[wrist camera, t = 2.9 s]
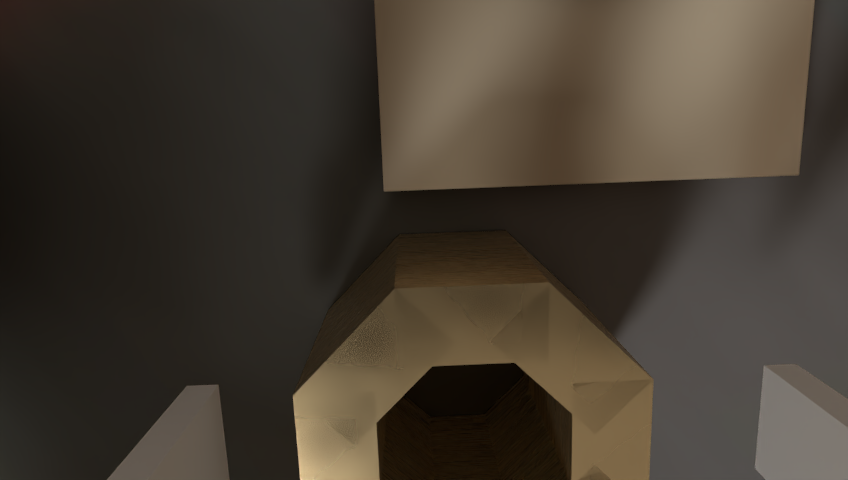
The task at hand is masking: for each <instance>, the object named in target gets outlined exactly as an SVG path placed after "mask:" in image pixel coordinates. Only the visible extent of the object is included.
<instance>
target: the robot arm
mask: <svg viewBox="0 0 848 480" xmlns="http://www.w3.org/2000/svg"><path fill="white" fill-rule="evenodd" d="M755 469H756V470H757V471H758V472H759V473H760V474H761V475H762V476H763V477H764V479H765V480H848V399H847V398H845V397H844V396H842V395H841V394H839V393H838V392H836V391H835V390H833V389H832V388H830V387H829V386H828V385H826V384H825V383H823V382H822V381H820V380H819V379H817V378H816V377H814V376H813V375H811V374H810V373H808V372H807V371H805V370H804V369H802V368H801V367H800V366H798V365H797V364H784V365H764V371H763V382H762V394H761V405H760V416H759V427H758V438H757V450H756V461H755ZM107 480H230V478H229V470H228V461H227V453H226V444H225V436H224V427H223V419H222V410H221V402H220V393H219V385H194V386H186V387H185V388H184V390H183V391H182V392H181V393H180V394H179V396H178V397H177V398H176V399H175V400H174V401H173V403H172V404H171V405H170V406H169V407H168V408H167V410H166V411H165V412H164V413H163V414H162V415H161V417H160V418H159V419H158V420H157V421H156V423H155V424H154V425H153V426H152V427H151V428H150V430H149V431H148V432H147V433H146V434H145V435H144V437H143V438H142V439H141V440H140V441H139V443H138V444H137V445H136V446H135V447H134V448H133V450H132V451H131V452H130V453H129V454H128V455H127V457H126V458H125V459H124V460H123V461H122V462H121V464H120V465H119V466H118V467H117V468H116V470H115V471H114V472H113V473H112V474H111V475H110V477H109V478H108V479H107Z"/></svg>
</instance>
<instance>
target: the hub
mask: <svg viewBox="0 0 848 480" xmlns="http://www.w3.org/2000/svg"><path fill="white" fill-rule="evenodd" d="M814 3H815V0H374V6H375V26H376V46H377V65H378V85H379V105H380V125H381V145H382V165H383V184H384V192H385V191H410V190H436V189H461V188H487V187H512V186H537V185H563V184H588V183H613V182H639V181H664V180H690V179H715V178H740V177H766V176H791V175H799V169H800V158H801V147H802V136H803V125H804V114H805V103H806V91H807V80H808V69H809V58H810V47H811V36H812V25H813V14H814Z"/></svg>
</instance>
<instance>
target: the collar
mask: <svg viewBox="0 0 848 480" xmlns="http://www.w3.org/2000/svg"><path fill="white" fill-rule="evenodd" d="M497 363H516V364H517V365H518V366H519V367H520V368H521V369H522V370H523V377H522V378H521V379H520V380H519V381H518V382H517V383H516V384H515V385H514V386H513V387H512V388H511V389H510V390H509V391H508V392H506V393H505V394H504V395H503V396H502V397H501V398H500V399H499V400H498V401H497V402H496V403H495V404H494V405H493V406H492V407H491V408H490V409H489V410H488V411H487V412H486V413H485V414H477V415H455V416H433V417H430V416H429V415H427V414H426V413H425V412H424V411H423V410H422V409H420V408H419V407H418V406H417V405H416V404H414V403H413V402H412V401H411V400H410V399H408V398H407V397H406V396H405V395H404V394H405V393H406V392H407V391H408V390H409V389H410V388H411V387H412V386H413V385H414V384H415V383H416V382H417V381H418V380H419V379H420V378H421V377H422V376H423V375H424V374H425V373H426V372H427V371H428V370H429V369H430V368H431V367H432V366H452V365H475V364H497ZM652 400H653V378H652V377H651V376H650V375H649V374H648V373H647V372H646V371H645V370H644V369H643V368H642V366H641V365H640V364H639V363H638V362H637V361H636V360H635V359H634V358H633V357H632V356H631V355H630V354H629V352H628V351H627V350H626V349H625V348H624V347H623V346H622V345H621V344H620V343H619V342H618V341H617V339H616V338H615V337H614V336H613V335H612V334H611V333H610V332H609V331H608V330H607V329H606V328H605V327H604V325H603V324H602V323H601V322H600V321H599V320H598V319H597V318H596V317H595V316H594V315H593V314H592V312H591V311H590V310H589V309H588V308H587V307H586V306H585V305H584V304H583V303H582V302H581V301H580V300H579V299H578V298H577V297H576V296H575V295H574V294H573V293H572V292H571V291H570V290H569V289H568V288H567V287H565V286H564V285H563V284H562V283H561V282H560V281H559V280H558V279H557V278H556V277H555V276H554V275H553V274H552V273H550V272H549V271H548V270H547V269H546V268H545V267H544V266H543V265H542V264H541V263H540V262H539V261H538V260H537V259H536V258H534V257H533V256H532V255H531V254H530V253H529V252H528V251H527V250H526V249H525V248H524V247H523V246H522V245H521V244H520V243H518V242H517V241H516V240H515V239H514V238H513V237H512V236H511V235H510V234H509V233H508V232H507V231H506V230H494V231H469V232H445V233H420V234H399V235H398V236H397V237H396V238H395V239H394V240H393V241H392V242H391V244H390V245H389V246H388V247H387V248H386V249H385V250H384V251H383V252H382V253H381V254H380V255H379V256H378V257H377V258H376V260H375V261H374V262H373V263H372V264H371V265H370V266H369V267H368V268H367V269H366V270H365V271H364V272H363V273H362V275H361V276H360V277H359V278H358V279H357V280H356V281H355V282H354V283H353V284H352V285H351V286H350V287H349V288H348V289H347V291H346V292H345V293H344V294H343V295H342V296H341V297H340V298H339V299H338V300H337V301H336V302H335V303H334V304H333V306H332V307H331V308H330V309H329V310H328V312H327V314H326V317H325V319H324V322H323V324H322V326H321V329H320V331H319V334H318V336H317V338H316V341H315V343H314V346H313V348H312V351H311V353H310V355H309V358H308V360H307V363H306V365H305V367H304V370H303V372H302V375H301V377H300V379H299V382H298V384H297V387H296V389H295V391H294V394H293V404H294V415H295V427H296V438H297V449H298V461H299V472H300V480H649V468H650V445H651V423H652Z"/></svg>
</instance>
